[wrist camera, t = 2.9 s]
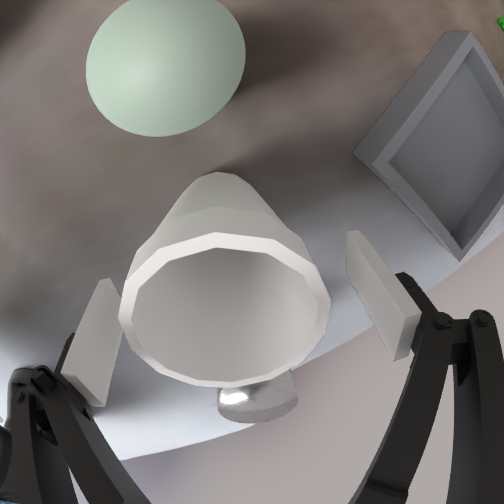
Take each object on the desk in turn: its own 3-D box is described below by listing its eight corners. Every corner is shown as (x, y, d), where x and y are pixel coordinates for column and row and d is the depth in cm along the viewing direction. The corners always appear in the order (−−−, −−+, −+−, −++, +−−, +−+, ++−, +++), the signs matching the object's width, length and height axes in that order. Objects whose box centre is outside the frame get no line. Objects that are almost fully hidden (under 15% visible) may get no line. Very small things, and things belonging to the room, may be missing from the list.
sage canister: (200, 127, 20) (185, 164, 11) (132, 89, 18) (61, 97, 9) (248, 61, 18) (278, 37, 9) (178, 21, 16) (144, -32, 6)
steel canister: (251, 338, 32) (265, 427, 23) (203, 318, 30) (203, 414, 20) (286, 302, 30) (313, 394, 20) (235, 277, 27) (248, 377, 18)
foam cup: (225, 127, 20) (236, 179, 9) (300, 211, 25) (363, 322, 14) (138, 209, 23) (83, 324, 12) (216, 277, 27) (221, 404, 16)
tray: (441, 244, 28) (459, 261, 25) (351, 152, 22) (371, 164, 19) (512, 144, 22) (533, 153, 20) (445, 31, 16) (470, 30, 13)
